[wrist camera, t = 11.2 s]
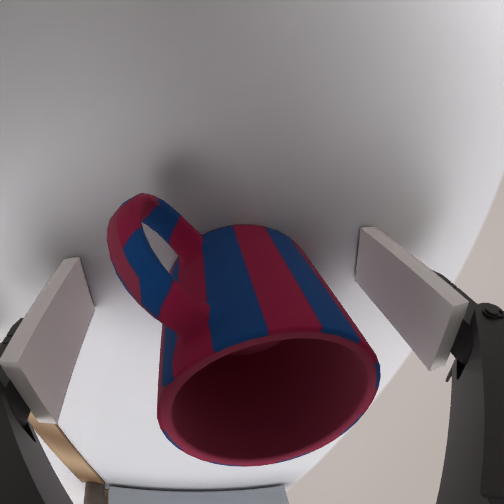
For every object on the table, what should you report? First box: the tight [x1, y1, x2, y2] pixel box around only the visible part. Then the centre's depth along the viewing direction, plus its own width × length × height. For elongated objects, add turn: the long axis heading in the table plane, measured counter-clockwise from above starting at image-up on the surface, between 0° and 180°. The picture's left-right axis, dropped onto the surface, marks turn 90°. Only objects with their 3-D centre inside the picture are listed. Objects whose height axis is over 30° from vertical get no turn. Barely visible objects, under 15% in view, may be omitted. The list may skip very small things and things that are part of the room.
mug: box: [107, 193, 380, 466], centre depth 11 cm, size 7×10×7 cm
